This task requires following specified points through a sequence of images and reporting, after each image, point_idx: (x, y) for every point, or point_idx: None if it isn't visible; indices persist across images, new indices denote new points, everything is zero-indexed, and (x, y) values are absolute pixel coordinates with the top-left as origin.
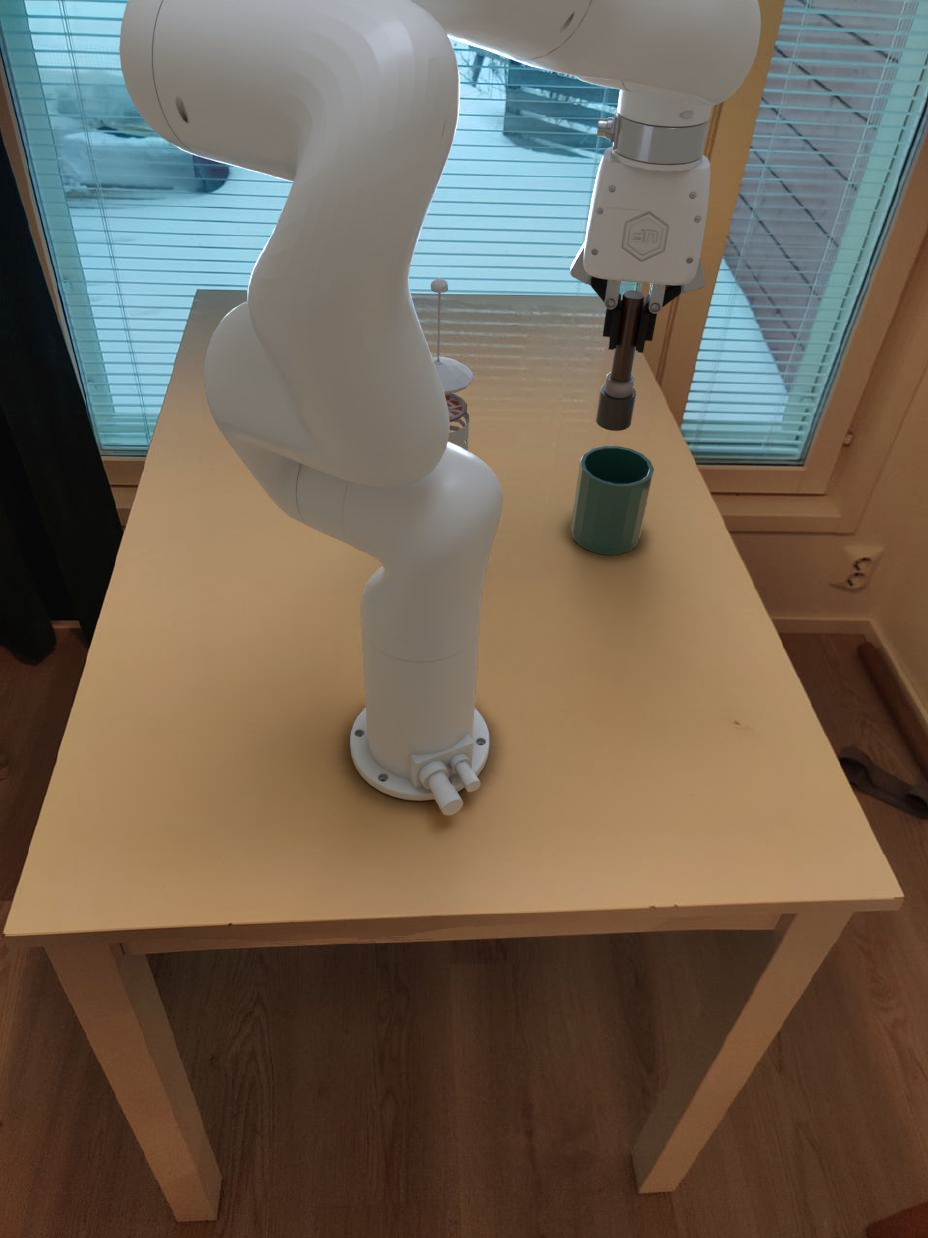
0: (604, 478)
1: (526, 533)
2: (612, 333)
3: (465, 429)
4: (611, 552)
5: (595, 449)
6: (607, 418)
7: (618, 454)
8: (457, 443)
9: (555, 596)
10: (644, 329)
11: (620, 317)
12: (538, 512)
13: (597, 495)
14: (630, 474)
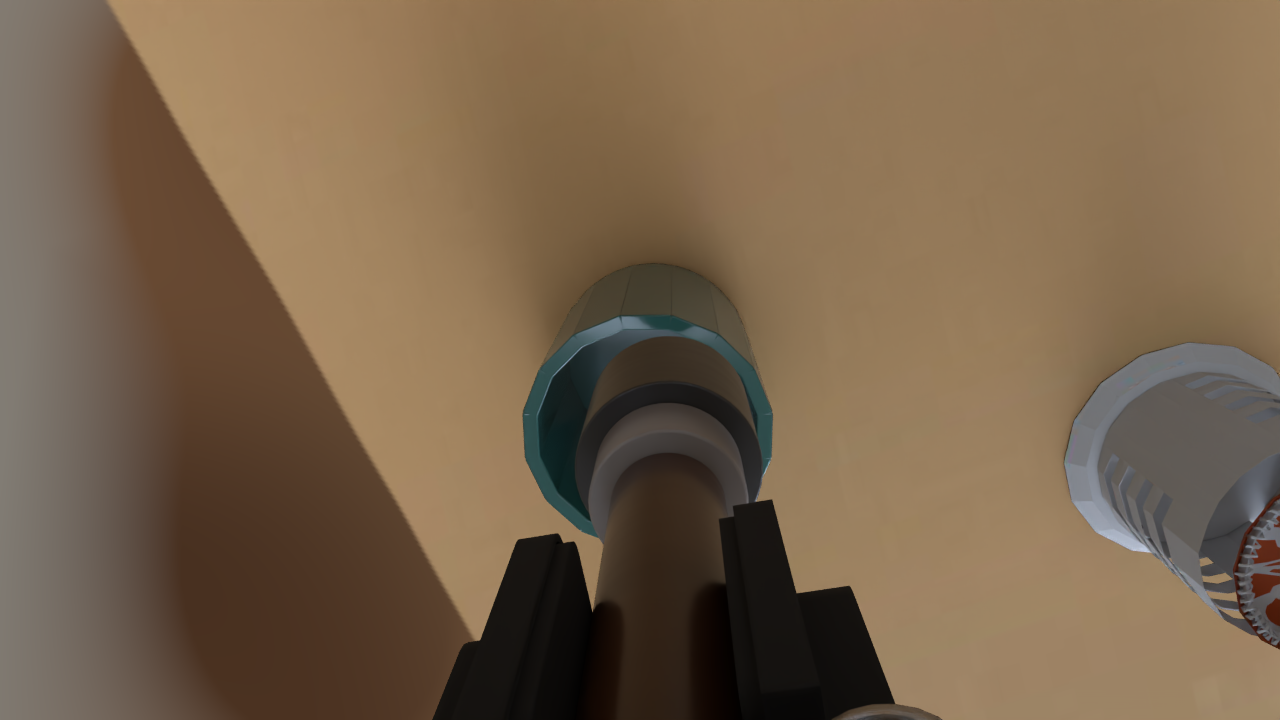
0: None
1: (863, 279)
2: (772, 556)
3: (1195, 522)
4: (616, 271)
5: None
6: (688, 352)
7: None
8: (1196, 469)
9: (721, 32)
10: (504, 632)
11: (738, 663)
12: (851, 384)
13: (681, 306)
14: None
